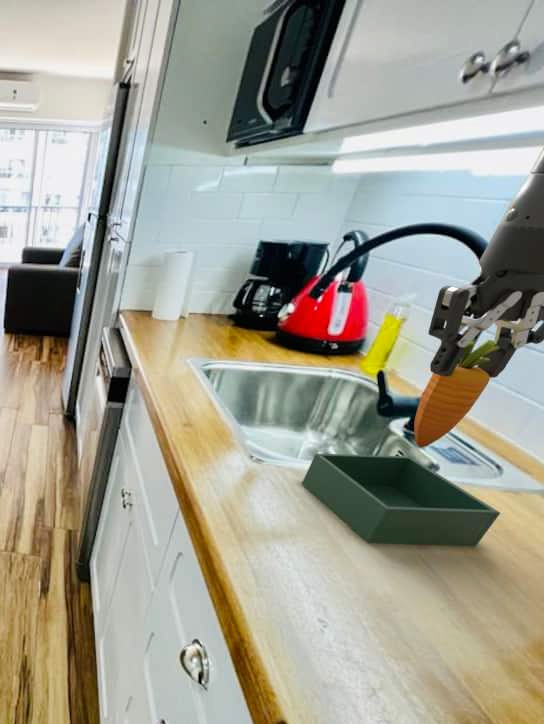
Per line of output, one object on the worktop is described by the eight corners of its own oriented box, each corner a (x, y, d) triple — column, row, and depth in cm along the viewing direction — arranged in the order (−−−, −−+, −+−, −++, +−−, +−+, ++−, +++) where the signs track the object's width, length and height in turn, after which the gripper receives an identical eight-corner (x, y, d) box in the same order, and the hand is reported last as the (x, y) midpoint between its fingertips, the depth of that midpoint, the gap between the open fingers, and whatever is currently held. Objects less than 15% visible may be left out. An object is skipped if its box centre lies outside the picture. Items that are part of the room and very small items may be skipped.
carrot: (398, 434, 67) (456, 329, 60) (446, 447, 64) (512, 337, 57) (393, 446, 64) (453, 337, 57) (443, 460, 61) (513, 346, 54)
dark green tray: (392, 486, 76) (409, 456, 73) (475, 546, 63) (501, 512, 61) (301, 483, 76) (315, 453, 73) (367, 542, 64) (387, 508, 61)
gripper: (517, 224, 48) (428, 384, 56) (665, 227, 47) (553, 388, 56) (450, 219, 54) (380, 363, 63) (580, 221, 54) (492, 366, 62)
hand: (462, 374), depth 59 cm, fingers closed on carrot, 5 cm apart
